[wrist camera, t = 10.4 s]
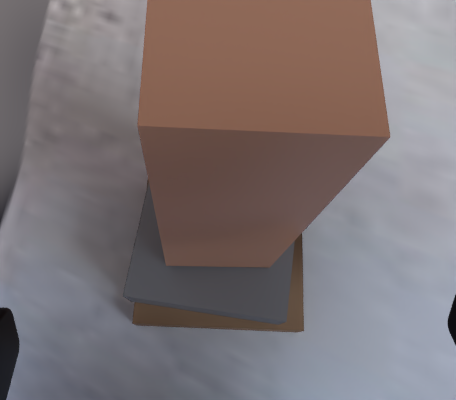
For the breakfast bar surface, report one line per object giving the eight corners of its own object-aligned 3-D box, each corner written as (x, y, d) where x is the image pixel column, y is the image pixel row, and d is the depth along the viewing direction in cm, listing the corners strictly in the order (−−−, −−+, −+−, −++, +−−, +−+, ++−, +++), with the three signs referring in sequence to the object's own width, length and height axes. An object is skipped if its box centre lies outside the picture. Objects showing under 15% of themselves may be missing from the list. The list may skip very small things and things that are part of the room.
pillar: (269, 267, 19) (390, 137, 8) (165, 265, 19) (137, 125, 7) (266, 173, 21) (363, -49, 9) (170, 169, 20) (152, -66, 9)
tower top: (278, 324, 21) (286, 321, 18) (131, 301, 21) (122, 296, 18) (293, 187, 23) (301, 170, 21) (160, 166, 23) (156, 148, 21)
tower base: (294, 332, 23) (303, 330, 21) (139, 326, 22) (132, 323, 20) (293, 188, 25) (301, 173, 23) (153, 180, 25) (149, 165, 23)
